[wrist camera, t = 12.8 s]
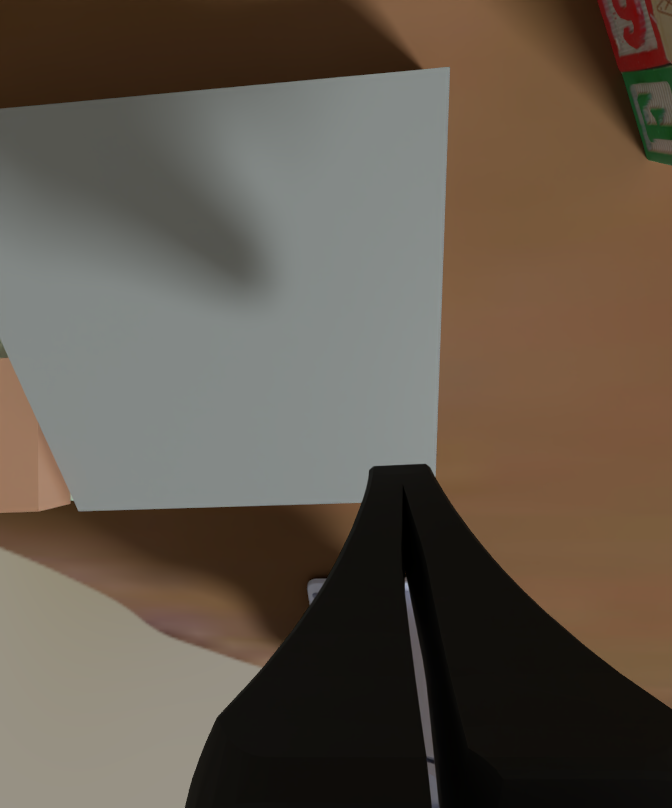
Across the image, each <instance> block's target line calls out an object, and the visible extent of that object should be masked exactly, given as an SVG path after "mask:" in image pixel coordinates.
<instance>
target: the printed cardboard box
mask: <svg viewBox="0 0 672 808" xmlns="http://www.w3.org/2000/svg"><path fill="white" fill-rule="evenodd" d="M597 1H598V4H599V8H600V11H601V14H602V17H603V21H604V24H605V27H606V30H607V34H608V37H609V40H610V43H611V46H612V49H613V53H614V56H615V59H616V62H617V66H618V69H619V70H620V72H621V73H622V76H623V79H624V82H625V86H626V89H627V92H628V96H629V99H630V102H631V106H632V109H633V113H634V116H635V119H636V123H637V126H638V129H639V133H640V136H641V139H642V142H643V146H644V150H645V153H646V157H647V159H648V160H650V161H655V162H659V163H664V164H668V165H672V0H597Z"/></svg>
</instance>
